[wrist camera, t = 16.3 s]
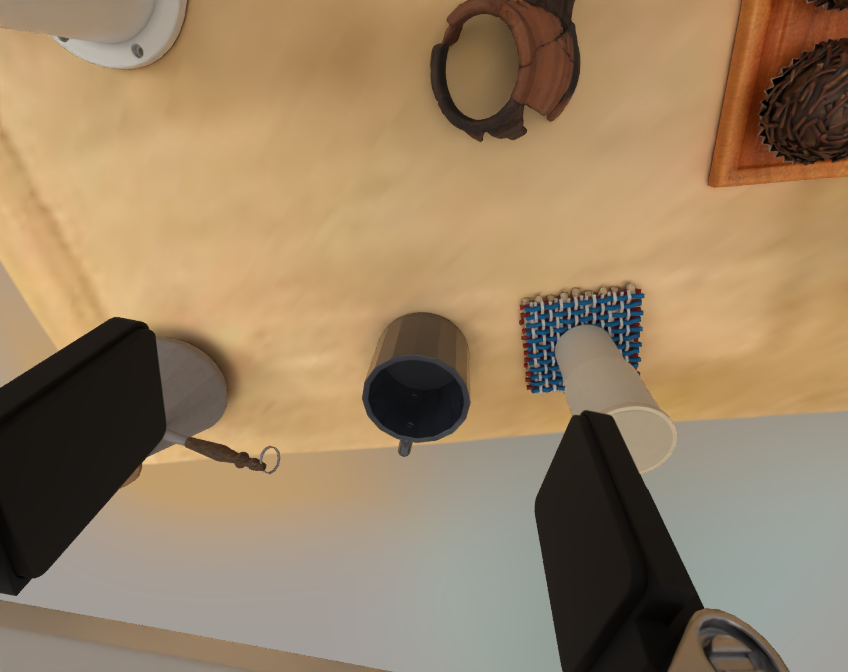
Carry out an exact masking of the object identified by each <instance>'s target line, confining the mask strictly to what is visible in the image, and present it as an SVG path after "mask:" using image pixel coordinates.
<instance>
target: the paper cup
mask: <svg viewBox="0 0 848 672" xmlns="http://www.w3.org/2000/svg"><path fill="white" fill-rule="evenodd" d="M555 357H556V360H557V363H558V365H559V368H560V371H561V374H562V377H563V379H564V382H565V396H566V399H567V402H568V405H569V408H570V411H571V414H572V416H573V415H580V414H581V412H582V411H584V410H589V411H594V412H599V413H604V414H609V415H611V416H612V417H613V418H614V420H615V422H616V424H617V426H618V428H619V430H620V433H621V435H622V437H623V439H624V441H625V443H626V445H627V447H628V450H629V452H630V454H631V456H632V458H633V460H634V462H635V464H636V467H637V469H638V471H639V473H640V474H642V473H646V472H648V471H650V470H652V469H654V468H656V467H658V466H659V465H660V464H662V463H663V462H664V461H665V460H666V459H667V458H668V457H669V456H670V455H671V453H672V452H673V450H674V448H675V446H676V442H677V431H676V427H675V425H674V423H673V422H672V420H671V419H670V417H669V416H668V415H667V414H666V413H665V412H664V411H663V410H661V409H660V407H659V406H658V404H657V403H656V401H655V399H654V398H653V396H652V395H651V393H650V392H649V390H648V388H647V387H646V385H645V384H644V382H643V380H642V379H641V377H640V376H639V374H638V373H637V371H636V370H635V368H634V367H633V366H632V365H631V364H629V363H628V362H626V361H625V359H624V358H623V356H622V355H621V353H620V351H619V350H618V348H617V346H616V345H615V343H614V342H613V340H612V338H611V337H610V335H609V334H608V333H607V332H606V331H605V330H604V329H602V328H600V327H598V326H594V325H580V326H576V327H574V328H571V329H570V330H568V331H567V332H565V333H564V334H563V335H562V336H561V337H560V339H559V340H558V342H557V344H556V347H555Z"/></svg>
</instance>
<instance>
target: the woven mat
mask: <svg viewBox="0 0 848 672" xmlns="http://www.w3.org/2000/svg"><path fill="white" fill-rule="evenodd" d="M626 287H627V289H625V290H623V291H621V292H618V287H611V288H610V290H611V292H607V290H606V287H605V288H601V289H600V291H599V292H598V296H596V295H595V294H594V295H593V291H588V292H585V297H583V295H580V289H577V288H573V289H572V298H570V297H568V293H565V292H564V293H561V294H560V296H561V297H560V298H558V299H557V298H556V299H554V296H553V295H549V296H547V302H543V300H542V297H541V296H537V297H536V299H535V302H534V303H533V302H530V303H529V298H524V299H522V305H520V310H523V313H521V318H524V319H522V320H520V321H519V324H520V325H523V324H524V329H522V333H525V336H522V337H521V339H522V340H525V342H526V343H524V344H523V347H524V348H526V351H524V355H527V358H525V362H526V363H525V364H524V367H526V368H527V367H528V372H526V376H528V378H525V380H526V382H529V385H527V390H529V389H530V390H531V392H532V393H538V392H540V395H542V392H546V393H549V392H550V391H552V390H553V391H554V393H555V392H556V390H559V391H561V390H562V391H563V393H565V382H564V379H563V377H562V374H561V371H560V368H559V365H558V363H557V360H556V357H555V347H556V344H557V342H558V340H559V339H560V337H561V336H562V335H563V334H564V333H565V332H567V331H568V330H570V329H571V328H574V327H576V326H580V325H594V326H598V327H600V328H602V329H604V330H605V331H606V332H607V333H608V334H609V335H610V337H611V338H612V340H613V342H614V343H615V345H616V346H617V348H618V350H619V351H620V353H621V355H622V356H623V358H624V359H625V361H626V362H628V363H629V364H631V365H632V366H633V367H634V368H635V370H637V367H638V362H641V358H640V357H638V353H639V347H642V343H641V342H638V338H639V337H640V331H643V327H641V326H640V327H639V325H640V323H638V322H641V317H640V316H641V315H643V311H642V310H641V307H636V306H640V305H642V300H641V298H644V294H643V293H641V289H635V284H629V285H626ZM607 293H608V294H607ZM558 307H560V309H558ZM595 307H596V308H595ZM544 309H546V310H544ZM622 312H623V313H622ZM583 313H584V314H583ZM596 319H597V320H596ZM636 322H637V323H636ZM636 342H637V343H636ZM546 344H547V345H546ZM537 367H538V368H537ZM637 373H638V374H639V376H640V372H639V371H637ZM548 386H549V387H548Z"/></svg>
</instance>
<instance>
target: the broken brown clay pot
mask: <svg viewBox="0 0 848 672" xmlns="http://www.w3.org/2000/svg"><path fill="white" fill-rule="evenodd" d="M574 2H575V0H523V1H522V0H517V1H513V0H467V1H466V2H464V3H462V4H460V5H459V6H458V7H457V8H456V9H455V10H454V11H453V12H452V13H451V14H450V15H449V16H448V18H447V22H448V23H449V26H448V28H447V29H446V32H445V35H444V38H443V41H442V43H439V44H437V45H435V46H434V47H433V50H432V54H431V64H430V66H431V84H432V89H433V92H434V95H435V98H436V100H437V101H438V105H439V107H440V109H441V111H442V113H443V114H444V115H445V116H446V118H447V119H448V120H449V121H450V122H451V123H452V124H453V125H454V126H456V127H457V128H459V129H461V130H463V131H465V132H466V133H467V134H468V135H470V136H471V137H472V138H474V139H476V140H478V141H480V142H482V141H483V135H484V132H488V133H489V134H490V135H491V136H493V137H496V138H499V139H503V138H508V139H510V140H515V139H517V138H519V137H521V136H523V135H525V134H526V133H527V129H526V128H525V127H524V126H523V122H524V120H523V111H524V105H528V106H529V107H530V108H532V109H534V110H536V111H537V112H539V113H540V114H541V115H546V114H548V113H549V115H548V116H547V120H548V121H553V120H554V119H555V118H557V117H558V116H559V115H560V114H561V112H562V111H563V110H564V108H565V107H566V105H567V104H568V102H569V101H570V99H571V97H572V95H573V93H574V91H575V88H576V86H577V83H578V79H579V74H580V52H579V47H578V42H577V35H576V31H575V24H574V23H573V22H572V20H571V16H572V9H573V5H574ZM479 14H491V15H493V16H496V17H500V18H501V19H502V20H503V21H504V22H505V23H506V24H507V26H508V27H509V29H510V30H511V32H512V34H513V36H514V39H515V41H516V45H517V50H518V56H519V70H518V76H517V81H516V84H515V87H514V90H513V92H512V94H511V97H510V100H509V101H508V102H507V103H506V105H505V106H504V107H503V108H502V109H501V110H500V111H499V112H498V113H497V114H495V115H493V116H491V117H489V118H486V119H482V120H475V119H472V118H469V117H467V116H465V115H464V114H463V113H461V112H460V111H459V110H458V108H457V107H456V106H455V104H454V102H453V100H452V98H451V96H450V93H449V90H448V86H447V80H446V60H447V54H448V50H449V47H450V46H452V45H453V44H454V43H455V42H457V40H458V38H459V36H460V33H461V30H462V27H463V24H464V23H465V22H466V21H467V20H468V19H470V18H471V17H473V16H476V15H479ZM561 28H563V32H562V33H561ZM558 102H559V103H558Z"/></svg>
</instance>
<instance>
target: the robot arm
mask: <svg viewBox="0 0 848 672" xmlns="http://www.w3.org/2000/svg"><path fill="white" fill-rule="evenodd" d="M186 4H187V0H0V28H5V29H12V30H18V31H25V32H32V33H38V34H45V35H50V36H51V37H52V38H53V39H54V40H55V41H56V42H57V43H58V44H60V45H61V46H63V47H64V48H65V49H67V50H68V51H69V52H71V53H72V54H74V55H76V56H78V57H80V58H81V59H83V60H85V61H87V62H90V63H93V64H96V65H99V66H102V67H107V68H115V69H136V68H139V67H143V66H147V65H149V64H151V63H153V62H155V61H156V60H158V59H160V58H161V57H162V56H163V55H164V54H165V53H166V52H167V51H168V50H169V49H170V48H171V47H172V45H173V43H174V42H175V40H176V38H177V37H178V35H179V33H180V30H181V27H182V24H183V21H184V18H185V11H186ZM142 50H143V52H142ZM166 427H167V423H166V415H165V407H164V399H163V391H162V383H161V375H160V367H159V359H158V351H157V343H156V336H155V334H154V332H153V331H151V330H149V327H148V326H147V324H146V323H144V322H141V321H136V320H131V319H125V318H120V317H114V318H111V319H109V320H108V321H106V322H104V323H103V324H101V325H100V326H98V327H96V328H95V329H93V330H92V331H90V332H88V333H87V334H85V335H84V336H82V337H81V338H79V339H77V340H76V341H74V342H73V343H71V344H69V345H68V346H66V347H65V348H63V349H61V350H60V351H58V352H57V353H55V354H53V355H52V356H50V357H49V358H47V359H46V360H44V361H42V362H41V363H39V364H38V365H36V366H34V367H33V368H31V369H30V370H28V371H26V372H25V373H23V374H22V375H20V376H18V377H17V378H15V379H14V380H13V381H10V382H9V383H8V384H6V385H4V386H3V387H1V388H0V593H3V594H8V595H14V596H17V595H18V594H19V593H20V591H21V590H22V589H23V588H24V587H25V586H26V585H27V584H28V583H29V581H30V580H31V579H32V578H37V577H40V576H41V575H43V574H44V573H45V572H46V571H47V570H48V569H49V568H50V567H51V566H52V565H53V563H54V562H55V561H56V560H57V559H58V558H59V557H60V556H61V554H62V553H63V552H64V551H65V550H66V549H67V548H68V546H69V545H70V544H71V543H72V542H73V541H74V540H75V538H76V537H77V536H78V535H79V534H80V533H81V532H82V530H83V529H84V528H85V527H86V526H87V525H88V524H89V522H90V521H91V520H92V519H93V518H94V517H95V516H96V515H97V513H98V512H99V511H100V510H101V509H102V508H103V507H104V505H105V504H106V503H107V502H108V501H109V500H110V499H111V497H112V496H113V495H114V494H115V493H116V492H117V490H118V489H119V488H120V487H121V486H122V485H123V484H124V483H125V481H126V480H127V479H128V478H129V477H130V476H131V475H132V474H133V472H134V471H135V470H136V469H137V468H138V467H139V466H140V464H141V463H142V462H143V461H144V460H145V459H146V458H147V456H148V455H149V454H150V453H151V452H152V451H153V450H154V448H155V447H156V446H157V445H158V444H159V443H160V442H161V440H162V439H163V437H164V435H165V432H166ZM535 517H536V523H537V529H538V534H539V541H540V546H541V552H542V558H543V563H544V569H545V574H546V581H547V587H548V592H549V598H550V604H551V610H552V615H553V621H554V627H555V633H556V638H557V644H558V650H559V656H560V662H561V666H562V671H563V672H790V671H789V670H788V668H787V667H786V665H785V664H784V662H783V660H782V659H781V657H780V655H779V654H778V653H777V652H776V651H775V649H774V648H773V647H772V646H771V645H770V644H769V642H768V641H767V640H766V639H765V638H764V637H763V636H762V635H760V634H759V633H758V632H757V631H756V630H755V629H753V628H752V627H751V626H750V625H748V624H747V623H745V622H744V621H742V620H740V619H739V618H737V617H736V616H734V615H731V614H729V613H726V612H724V611H721V610H718V609H708V608H704V606H703V604H702V602H701V600H700V598H699V596H698V594H697V592H696V590H695V587H694V586H693V583H692V581H691V579H690V577H689V575H688V573H687V570H686V568H685V566H684V564H683V562H682V560H681V558H680V556H679V554H678V552H677V549H676V547H675V545H674V543H673V541H672V539H671V537H670V535H669V533H668V530H667V528H666V526H665V524H664V522H663V520H662V518H661V516H660V513H659V511H658V509H657V507H656V505H655V503H654V501H653V499H652V497H651V494H650V493H649V490H648V489H647V487H646V486H645V484H644V482H643V479H642V477H641V475H640V473H639V471H638V469H637V467H636V464H635V462H634V460H633V458H632V456H631V454H630V452H629V450H628V447H627V445H626V443H625V441H624V439H623V437H622V435H621V433H620V430H619V428H618V426H617V424H616V422H615V420H614V418H613V417H612V416H611V415H609V414H604V413H599V412H594V411H589V410H584V411H582V412H581V414H580V415H573V416H572V418H571V420H570V422H569V424H568V426H567V429H566V431H565V433H564V436H563V438H562V440H561V443H560V445H559V447H558V449H557V451H556V454H555V456H554V458H553V460H552V463H551V465H550V467H549V470H548V472H547V474H546V477H545V479H544V481H543V483H542V486H541V488H540V490H539V493H538V494H537V497H536V500H535ZM0 672H391V671H386V670H380V669H375V668H370V667H365V666H360V665H354V664H349V663H344V662H338V661H332V660H327V659H322V658H317V657H311V656H306V655H300V654H295V653H290V652H284V651H279V650H273V649H268V648H263V647H258V646H252V645H247V644H241V643H235V642H230V641H225V640H219V639H214V638H208V637H203V636H198V635H192V634H187V633H181V632H176V631H171V630H165V629H159V628H154V627H148V626H143V625H137V624H132V623H126V622H121V621H115V620H109V619H104V618H98V617H93V616H87V615H81V614H76V613H70V612H64V611H59V610H53V609H48V608H42V607H37V606H31V605H26V604H20V603H15V602H8V601H3V600H0Z"/></svg>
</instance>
